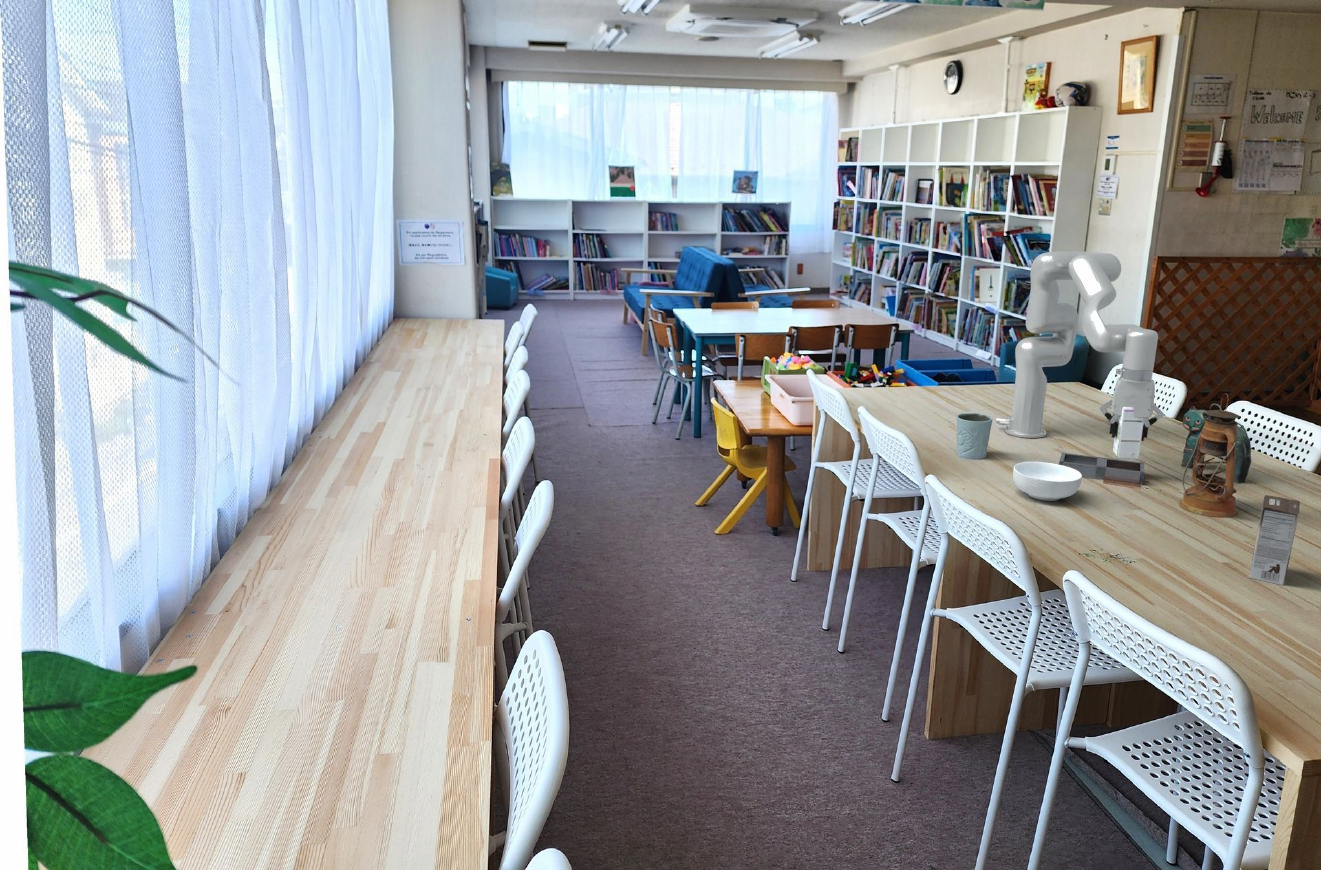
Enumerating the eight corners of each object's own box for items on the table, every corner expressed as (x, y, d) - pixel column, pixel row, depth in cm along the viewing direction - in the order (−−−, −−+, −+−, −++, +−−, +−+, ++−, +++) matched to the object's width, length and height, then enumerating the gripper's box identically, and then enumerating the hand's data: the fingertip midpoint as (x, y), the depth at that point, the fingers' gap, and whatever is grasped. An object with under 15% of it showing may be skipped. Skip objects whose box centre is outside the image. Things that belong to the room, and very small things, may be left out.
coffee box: (1251, 564, 203) (1264, 494, 199) (1286, 571, 200) (1300, 500, 195) (1248, 578, 196) (1262, 505, 192) (1284, 585, 193) (1299, 512, 188)
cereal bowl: (1072, 511, 234) (1076, 484, 233) (1004, 499, 243) (1007, 473, 241) (1083, 492, 248) (1087, 467, 246) (1018, 481, 257) (1021, 457, 255)
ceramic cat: (1173, 464, 273) (1184, 398, 268) (1189, 462, 275) (1200, 396, 270) (1236, 485, 255) (1249, 414, 250) (1252, 482, 258) (1266, 412, 252)
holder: (1056, 477, 261) (1058, 465, 260) (1060, 464, 273) (1061, 452, 272) (1142, 488, 252) (1144, 476, 251) (1142, 474, 264) (1144, 462, 263)
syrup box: (1139, 459, 256) (1147, 408, 252) (1116, 458, 257) (1123, 406, 254) (1133, 453, 262) (1141, 403, 258) (1111, 452, 263) (1118, 402, 259)
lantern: (1253, 520, 229) (1275, 401, 221) (1199, 519, 229) (1220, 401, 221) (1214, 497, 245) (1234, 386, 237) (1165, 496, 246) (1183, 385, 237)
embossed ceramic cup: (990, 453, 283) (994, 415, 280) (986, 462, 274) (990, 422, 271) (955, 449, 287) (959, 411, 284) (950, 457, 278) (954, 418, 275)
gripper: (1101, 374, 254) (1092, 437, 259) (1173, 380, 246) (1163, 445, 251) (1102, 369, 260) (1093, 431, 265) (1172, 375, 253) (1162, 438, 258)
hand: (1127, 437), depth 258 cm, fingers closed on syrup box, 6 cm apart
